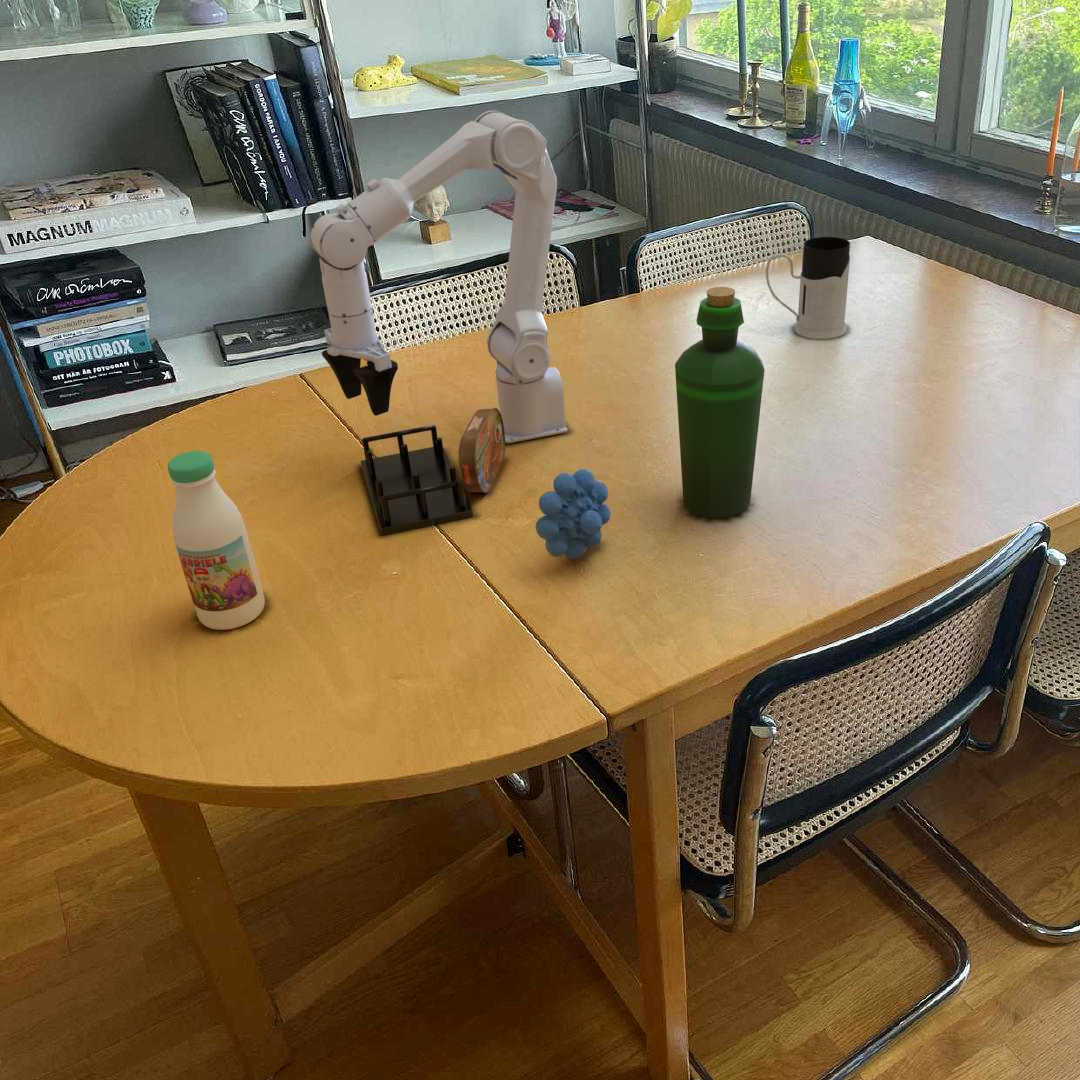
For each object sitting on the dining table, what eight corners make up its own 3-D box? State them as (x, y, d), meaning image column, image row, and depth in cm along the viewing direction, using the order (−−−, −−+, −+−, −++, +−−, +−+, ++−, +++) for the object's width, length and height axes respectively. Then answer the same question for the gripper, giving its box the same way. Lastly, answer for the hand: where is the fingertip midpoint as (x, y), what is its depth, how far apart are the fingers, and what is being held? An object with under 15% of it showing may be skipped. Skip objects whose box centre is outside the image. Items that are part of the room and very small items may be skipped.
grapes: (568, 592, 118) (562, 502, 112) (527, 571, 123) (519, 483, 116) (635, 549, 125) (633, 461, 118) (594, 530, 129) (590, 444, 123)
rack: (443, 451, 151) (439, 420, 148) (473, 516, 134) (469, 483, 131) (361, 466, 148) (355, 435, 146) (381, 535, 132) (375, 502, 129)
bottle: (764, 487, 135) (775, 277, 120) (751, 529, 127) (760, 310, 112) (684, 479, 138) (684, 274, 123) (665, 520, 130) (664, 305, 115)
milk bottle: (205, 596, 123) (160, 446, 112) (270, 589, 123) (231, 439, 113) (192, 635, 116) (143, 480, 106) (261, 627, 117) (218, 472, 106)
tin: (483, 504, 137) (476, 447, 132) (460, 503, 137) (452, 447, 133) (508, 451, 149) (503, 397, 144) (487, 450, 150) (481, 397, 145)
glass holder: (852, 337, 175) (860, 249, 167) (767, 342, 176) (771, 255, 168) (840, 318, 183) (847, 234, 175) (759, 324, 183) (762, 239, 175)
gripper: (297, 305, 138) (316, 398, 145) (350, 331, 128) (367, 430, 135) (344, 291, 142) (360, 383, 149) (398, 316, 132) (413, 413, 139)
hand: (367, 404), depth 142 cm, fingers open, 7 cm apart
